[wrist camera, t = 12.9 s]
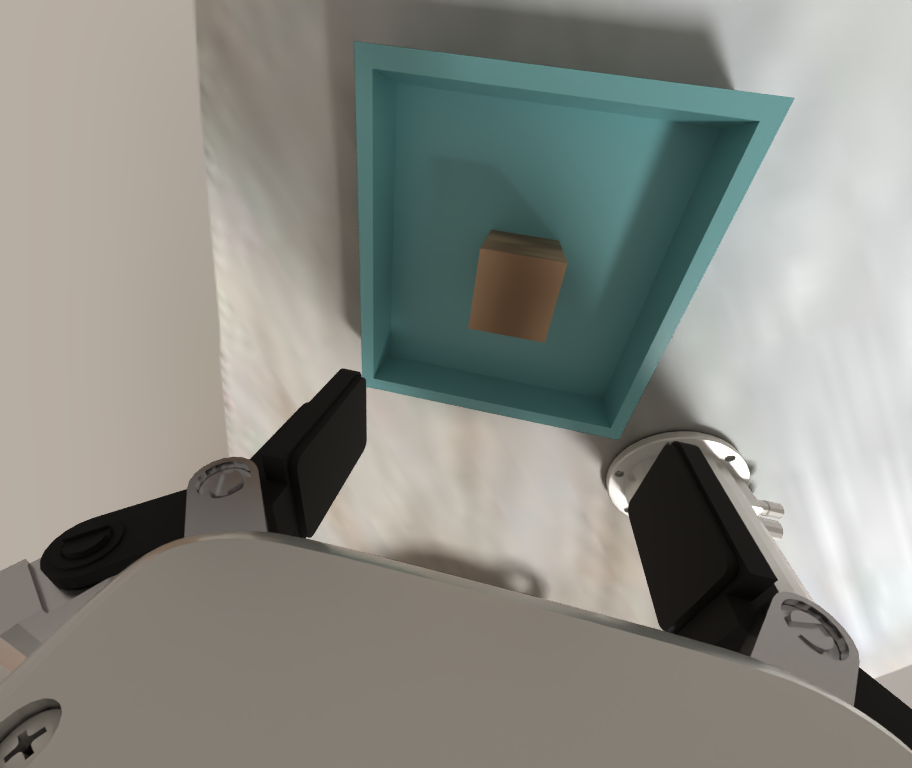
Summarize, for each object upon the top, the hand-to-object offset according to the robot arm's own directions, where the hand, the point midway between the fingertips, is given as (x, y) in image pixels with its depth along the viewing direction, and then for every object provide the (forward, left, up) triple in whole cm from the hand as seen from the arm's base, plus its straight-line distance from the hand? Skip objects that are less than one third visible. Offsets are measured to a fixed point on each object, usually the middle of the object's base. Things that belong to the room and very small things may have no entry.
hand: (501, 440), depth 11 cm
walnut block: (0, -1, -20) cm, 20 cm away
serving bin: (0, -1, -20) cm, 20 cm away
